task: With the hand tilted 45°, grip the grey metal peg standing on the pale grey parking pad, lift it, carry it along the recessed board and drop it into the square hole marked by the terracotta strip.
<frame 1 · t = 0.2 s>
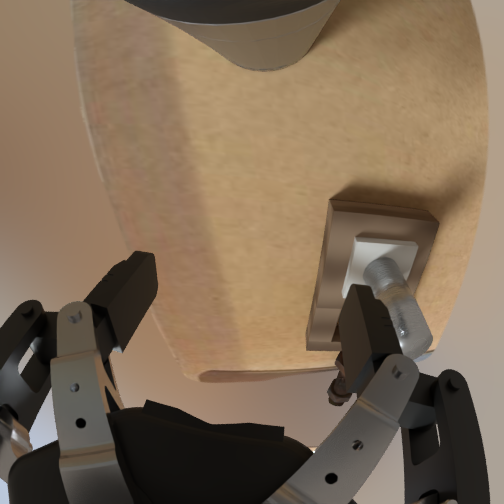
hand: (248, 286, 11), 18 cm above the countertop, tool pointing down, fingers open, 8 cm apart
recessed board: (363, 280, 32), on the countertop
peg: (380, 273, 26), point 4 cm above the countertop, touching recessed board
bolt: (342, 370, 43), on the countertop
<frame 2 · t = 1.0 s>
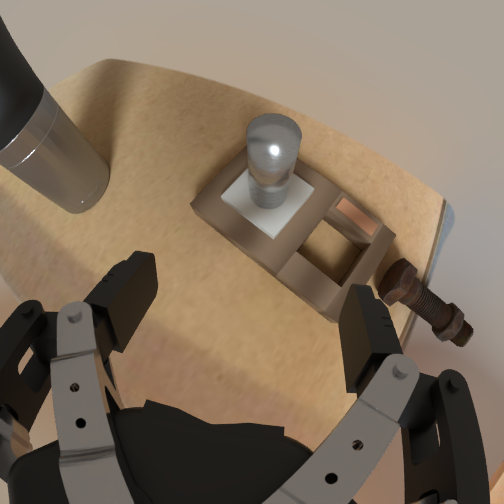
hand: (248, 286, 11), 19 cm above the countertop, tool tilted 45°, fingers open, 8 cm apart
recessed board: (294, 226, 32), on the countertop
peg: (268, 191, 28), point 4 cm above the countertop, touching recessed board
bolt: (422, 312, 30), on the countertop
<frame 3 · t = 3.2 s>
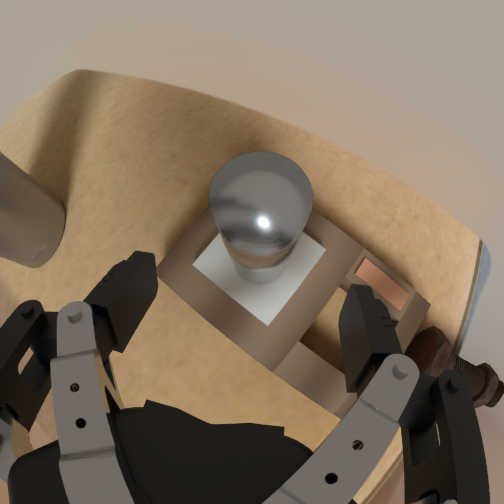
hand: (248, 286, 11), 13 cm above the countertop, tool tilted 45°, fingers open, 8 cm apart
recessed board: (296, 296, 23), on the countertop
peg: (259, 257, 20), point 4 cm above the countertop, touching recessed board
bolt: (450, 377, 21), on the countertop
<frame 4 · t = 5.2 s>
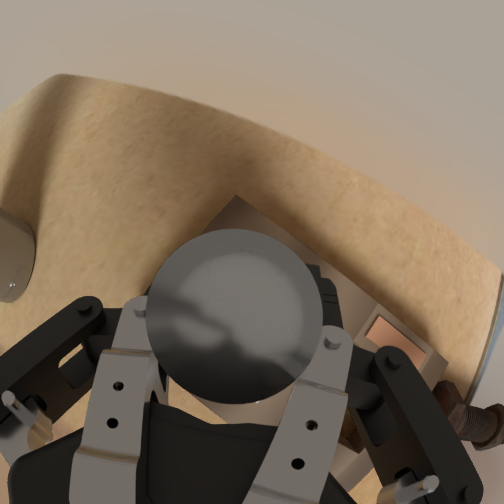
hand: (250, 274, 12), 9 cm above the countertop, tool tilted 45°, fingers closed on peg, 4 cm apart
recessed board: (293, 356, 19), on the countertop
peg: (248, 321, 16), point 4 cm above the countertop, touching gripper, recessed board
bolt: (460, 420, 16), on the countertop
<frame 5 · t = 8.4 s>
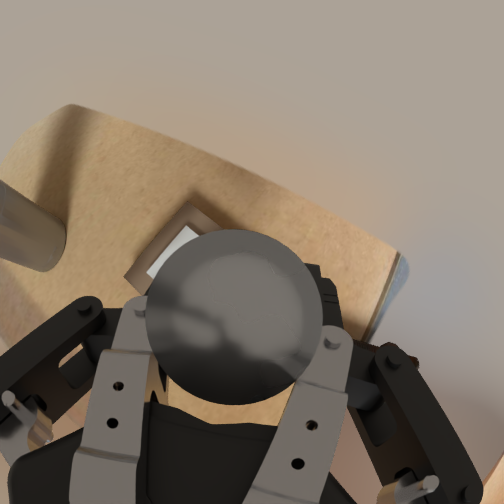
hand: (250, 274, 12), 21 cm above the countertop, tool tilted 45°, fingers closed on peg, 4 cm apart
recessed board: (220, 295, 33), on the countertop
peg: (248, 322, 16), point 17 cm above the countertop, touching gripper
when the fingers open (7 cm above the countertop, at t = 11.8 s): peg drops 3 cm, resting in recessed board.
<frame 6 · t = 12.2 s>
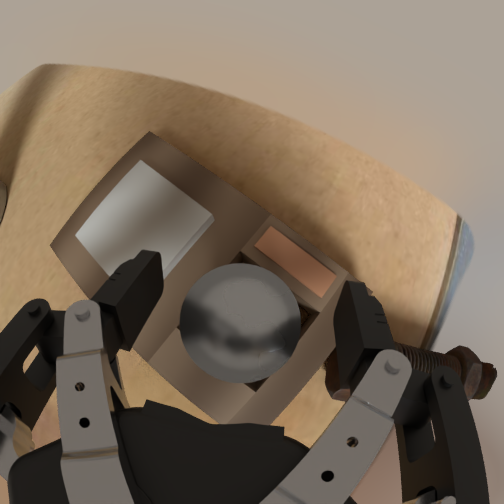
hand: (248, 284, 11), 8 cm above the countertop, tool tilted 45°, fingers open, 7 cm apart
recessed board: (194, 276, 19), on the countertop
peg: (249, 323, 18), resting in recessed board
bolt: (412, 371, 17), on the countertop
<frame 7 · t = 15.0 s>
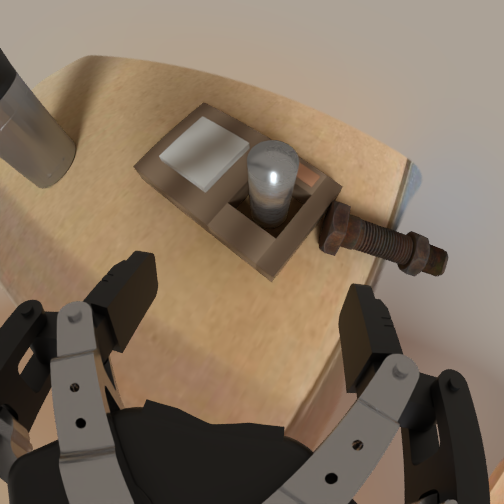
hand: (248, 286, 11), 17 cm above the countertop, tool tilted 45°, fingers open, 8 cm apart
recessed board: (234, 185, 31), on the countertop
peg: (269, 211, 30), resting in recessed board
bolt: (381, 252, 29), on the countertop
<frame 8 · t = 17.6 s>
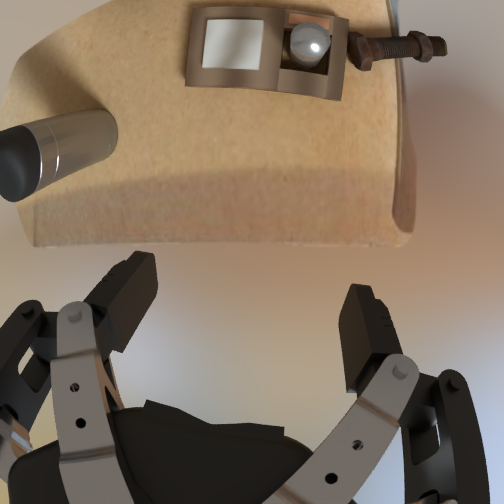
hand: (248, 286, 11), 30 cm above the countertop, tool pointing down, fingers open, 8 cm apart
recessed board: (267, 50, 29), on the countertop
peg: (305, 55, 29), resting in recessed board
bolt: (395, 50, 26), on the countertop, touching recessed board
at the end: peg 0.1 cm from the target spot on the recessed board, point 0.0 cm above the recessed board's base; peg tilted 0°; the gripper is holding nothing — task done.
